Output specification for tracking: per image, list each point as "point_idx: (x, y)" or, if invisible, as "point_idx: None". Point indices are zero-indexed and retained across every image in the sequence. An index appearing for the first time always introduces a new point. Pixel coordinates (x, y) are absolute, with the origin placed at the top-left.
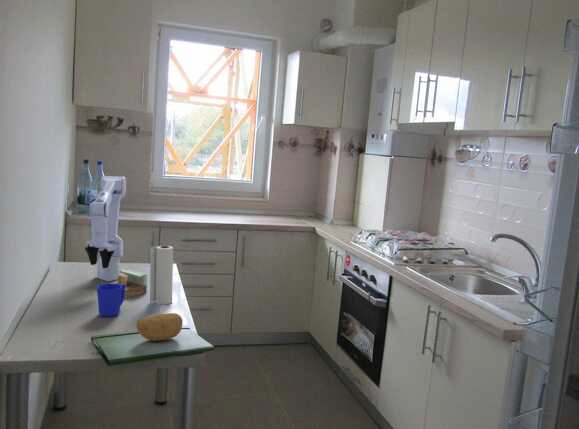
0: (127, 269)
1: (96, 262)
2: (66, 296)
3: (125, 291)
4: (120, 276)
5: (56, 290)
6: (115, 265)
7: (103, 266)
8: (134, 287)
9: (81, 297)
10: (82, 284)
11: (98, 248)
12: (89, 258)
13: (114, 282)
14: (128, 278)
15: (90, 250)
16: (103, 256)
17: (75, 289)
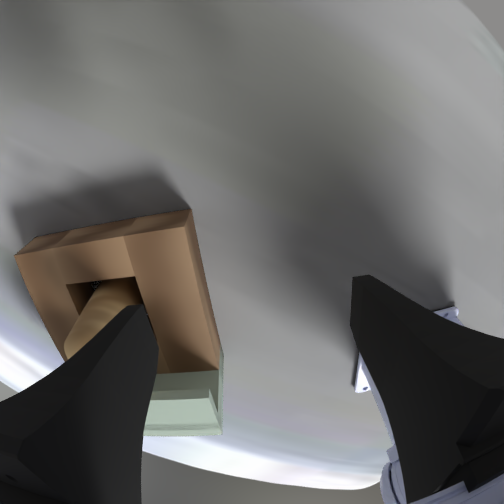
0: (203, 430)
1: (354, 338)
2: (250, 2)
3: (27, 277)
4: (77, 340)
5: (406, 32)
6: (385, 415)
7: (116, 316)
8: (57, 336)
9: (169, 62)
10: (419, 204)
11: (407, 487)
12: (410, 305)
13: (201, 315)
14: (179, 385)
15: (447, 407)
16: (16, 395)
17: (361, 117)
